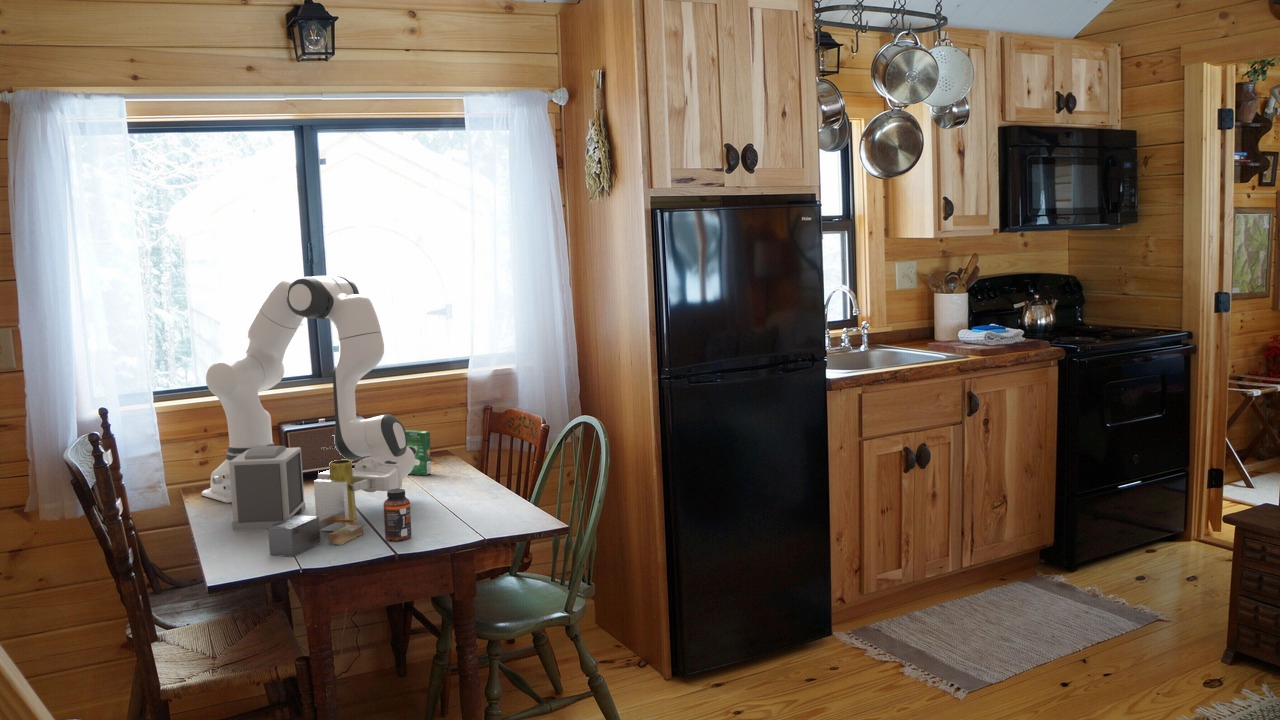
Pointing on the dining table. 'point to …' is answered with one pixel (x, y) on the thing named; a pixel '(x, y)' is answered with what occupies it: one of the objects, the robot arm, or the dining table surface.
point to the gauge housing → (294, 535)
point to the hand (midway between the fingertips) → (340, 487)
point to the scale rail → (345, 534)
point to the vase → (344, 473)
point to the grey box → (266, 486)
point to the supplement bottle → (397, 515)
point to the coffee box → (420, 451)
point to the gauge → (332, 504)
